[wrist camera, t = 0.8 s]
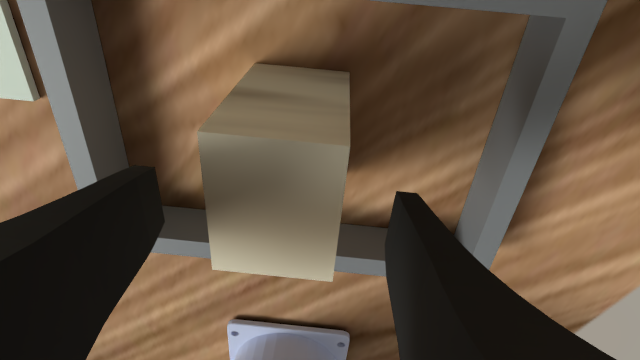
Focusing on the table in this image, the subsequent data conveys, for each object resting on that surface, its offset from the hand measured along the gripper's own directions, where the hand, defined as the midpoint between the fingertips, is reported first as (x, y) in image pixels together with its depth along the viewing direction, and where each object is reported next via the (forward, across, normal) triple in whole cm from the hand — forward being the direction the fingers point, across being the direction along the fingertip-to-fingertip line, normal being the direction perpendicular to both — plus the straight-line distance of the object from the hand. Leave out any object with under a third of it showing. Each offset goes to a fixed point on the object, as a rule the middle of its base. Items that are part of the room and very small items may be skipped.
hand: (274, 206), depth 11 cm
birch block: (+7, 0, 0) cm, 7 cm away
